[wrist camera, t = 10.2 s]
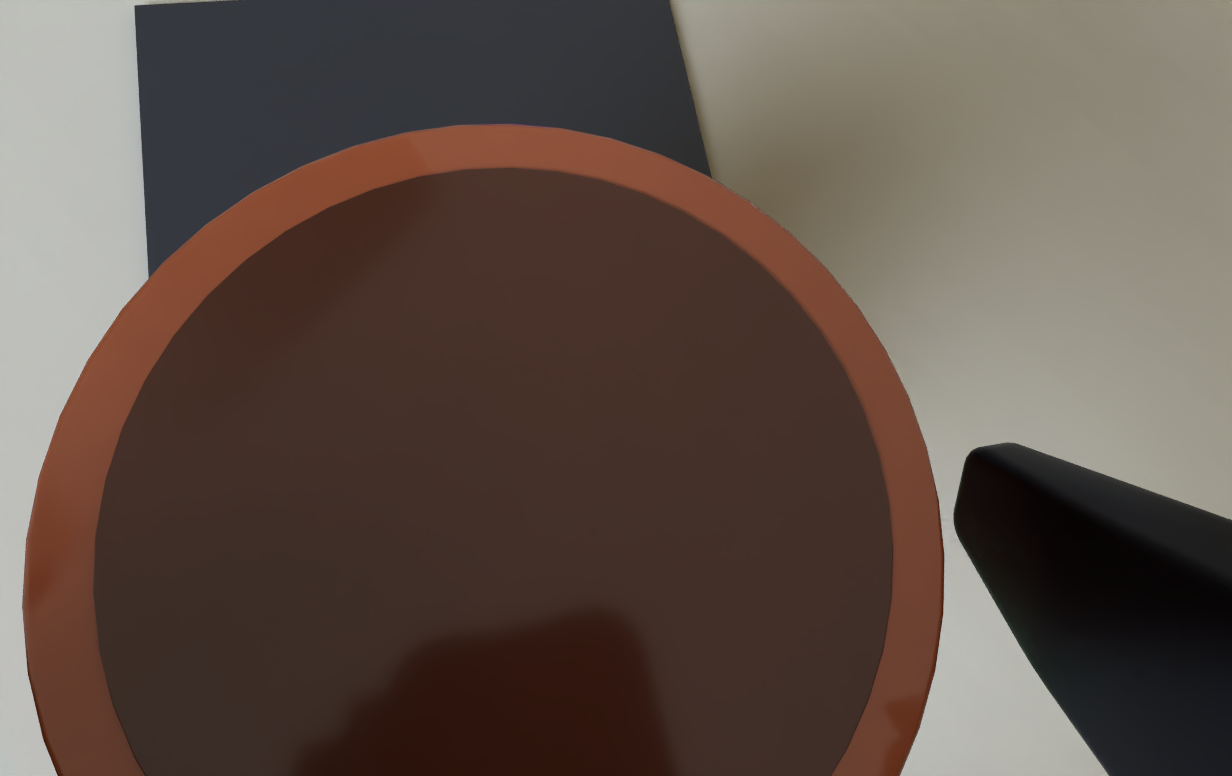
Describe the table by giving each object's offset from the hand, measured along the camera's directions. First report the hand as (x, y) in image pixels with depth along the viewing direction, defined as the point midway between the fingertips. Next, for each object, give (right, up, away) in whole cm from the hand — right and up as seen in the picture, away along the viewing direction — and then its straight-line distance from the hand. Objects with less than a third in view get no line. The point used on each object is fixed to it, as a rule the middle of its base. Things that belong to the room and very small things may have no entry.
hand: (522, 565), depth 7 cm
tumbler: (-1, -2, +10) cm, 10 cm away
